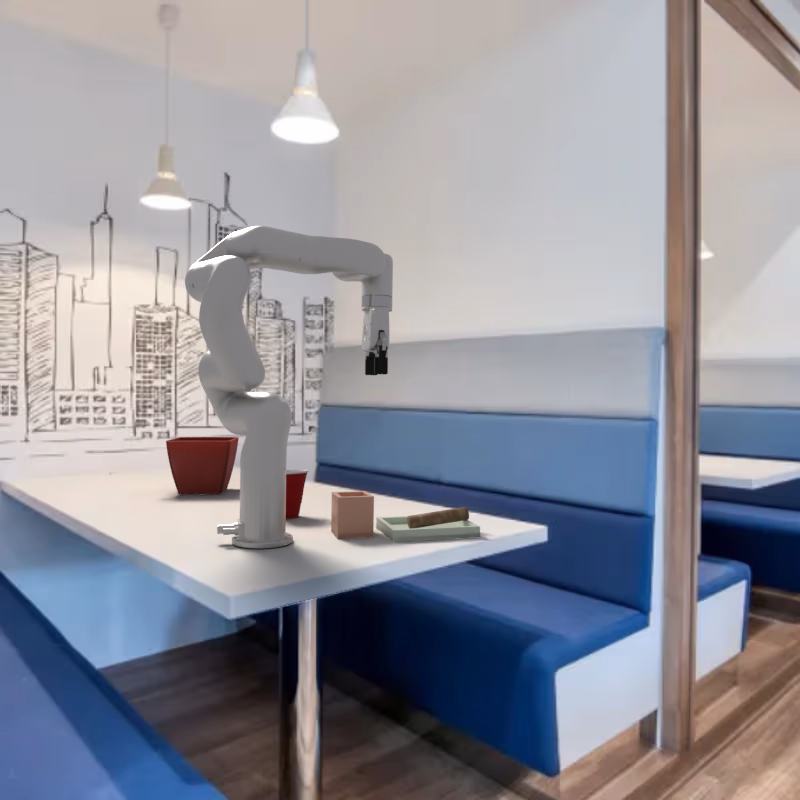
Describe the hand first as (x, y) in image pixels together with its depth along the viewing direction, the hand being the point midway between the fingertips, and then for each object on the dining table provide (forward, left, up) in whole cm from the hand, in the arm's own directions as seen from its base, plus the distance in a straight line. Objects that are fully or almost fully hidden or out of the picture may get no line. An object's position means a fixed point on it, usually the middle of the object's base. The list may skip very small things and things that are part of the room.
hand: (376, 374), depth 162 cm
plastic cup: (-20, +12, -36) cm, 43 cm away
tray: (+9, -14, -36) cm, 40 cm away
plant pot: (-41, +58, -37) cm, 80 cm away
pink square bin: (-8, -12, -36) cm, 39 cm away
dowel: (+5, -14, -36) cm, 39 cm away
